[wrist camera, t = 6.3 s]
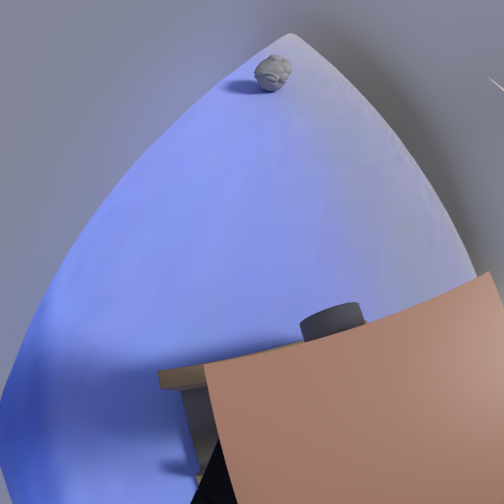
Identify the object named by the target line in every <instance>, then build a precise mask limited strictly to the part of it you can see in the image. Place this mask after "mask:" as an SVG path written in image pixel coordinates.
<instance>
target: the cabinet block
mask: <svg viewBox="0 0 504 504" xmlns="http://www.w3.org/2000/svg"><path fill="white" fill-rule="evenodd" d="M300 328H301V332H302V335H303V339H304V342H305V343H302V344H298V345H294V346H290V347H286V348H282V349H278V350H274V351H270V352H265V353H261V354H256V355H252V356H247V357H242V358H237V359H232V360H227V361H221V362H216V363H210V364H204V371H205V376H206V381H207V386H208V390H209V395H210V400H211V405H212V409H213V413H214V418H215V422H216V426H217V431H218V435H219V439H220V443H221V447H222V450H223V454H224V458H225V462H226V465H227V469H228V473H229V476H230V480H231V483H232V486H233V490H234V493H235V496H236V500H237V503H238V504H504V307H503V304H502V302H501V299H500V296H499V294H498V291H497V289H496V286H495V284H494V281H493V279H492V277H491V274H490V272H487V273H485V274H483V275H481V276H480V277H477V278H475V279H473V280H471V281H469V282H467V283H465V284H463V285H461V286H459V287H457V288H455V289H453V290H450V291H448V292H446V293H444V294H442V295H439V296H437V297H435V298H432V299H430V300H428V301H425V302H423V303H421V304H418V305H416V306H413V307H411V308H408V309H406V310H403V311H400V312H398V313H395V314H393V315H390V316H387V317H384V318H382V319H379V320H376V321H373V322H370V323H367V324H366V323H365V320H364V317H363V315H362V312H361V309H360V306H359V303H357V302H351V303H345V304H341V305H337V306H334V307H331V308H328V309H325V310H323V311H320V312H318V313H316V314H313V315H311V316H309V317H308V318H306V319H304V320H303V321H302V322H301V323H300Z"/></svg>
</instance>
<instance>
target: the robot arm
mask: <svg viewBox="0 0 504 504" xmlns="http://www.w3.org/2000/svg"><path fill="white" fill-rule="evenodd" d="M190 504H238V503H237V500H236V496H235V493H234V490H233V486H232V483H231V480H230V476H229V473H228V469H227V465H226V462H225V458H224V454H223V450H222V447H221V443H220V439H219V437H218V440H217V442H216V445H215V447H214V450H213V452H212V455H211V457H210V459H209V462H208V464H207V467H206V469H205V471H204V474H203V476H202V478H201V481H200V483H199V485H198V490H196V492H195V494H194V497H193V499H192V501H191V503H190Z"/></svg>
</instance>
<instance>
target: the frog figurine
mask: <svg viewBox="0 0 504 504" xmlns="http://www.w3.org/2000/svg"><path fill="white" fill-rule="evenodd" d="M291 70H292V68H291V64H290V62H289V61H288V60H287V59H285V58H283V57H282V56H278V55H270V56H269V58H267V59H265V60H264V61H262V62H261V63H260V64H259V65H258V67H256V69H255V71H254V73H255V78H256V79H257V81H258V84H259V85H260V87H262V88H263V89H265V90H267V91H276V90H278V89H280V88H281V87H282V86H283V85H284V84H285V83H286V81H285V80H287V79H288V78H289V75H290V73H291Z"/></svg>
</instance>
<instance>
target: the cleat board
mask: <svg viewBox="0 0 504 504" xmlns="http://www.w3.org/2000/svg"><path fill="white" fill-rule="evenodd" d="M365 323H366V324H367V323H368V322H367V320H365ZM302 343H305V342H304V340H303V341H299V342H296V343H292V344H288V345H285V346H281V347H277V348H273V349H269V350H265V351H261V352H257V353H252V354H248V355H244V356H239V357H235V358H230V359H225V360H220V361H215V362H210V363H216V362H221V361H227V360H232V359H237V358H242V357H247V356H252V355H256V354H261V353H265V352H270V351H274V350H278V349H282V348H286V347H290V346H294V345H298V344H302ZM210 363H204V364H210ZM204 364H199V365H193V366H187V367H181V368H174V369H167V370H160V371H158V377H159V382H160V388H161V389H166V390H178V391H181V395H182V399H183V404H184V408H185V413H186V417H187V421H188V425H189V429H190V433H191V437H192V441H193V445H194V448H195V452H196V456H197V459H198V462H199V466H200V469H201V470H200V471H199V473H198V474H197V475H196V479H197V482H198V485H199V483H200V481H201V478H202V476H203V474H204V471H205V469H206V467H207V464H208V462H209V459H210V457H211V455H212V452H213V450H214V447H215V445H216V442H217V440H218V437H219V435H218V431H217V426H216V422H215V418H214V413H213V409H212V405H211V400H210V395H209V390H208V386H207V381H206V376H205V371H204Z"/></svg>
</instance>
